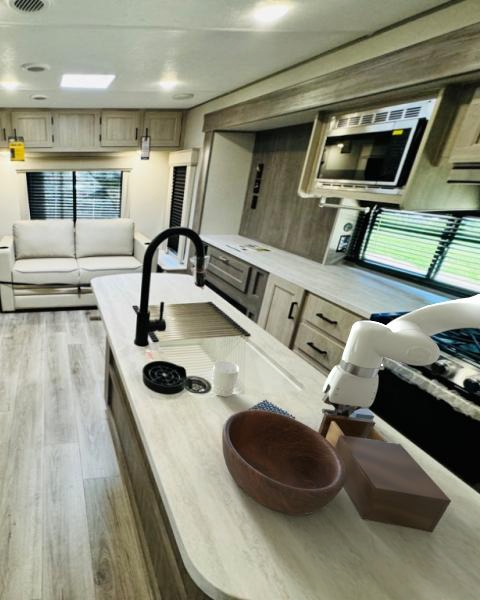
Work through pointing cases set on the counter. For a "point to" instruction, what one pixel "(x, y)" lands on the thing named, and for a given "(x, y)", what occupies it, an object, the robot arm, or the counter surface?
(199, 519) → the counter surface
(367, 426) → the drawer
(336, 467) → the wooden bowl
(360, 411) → the block
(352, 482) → the cabinet
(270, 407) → the woven mat
